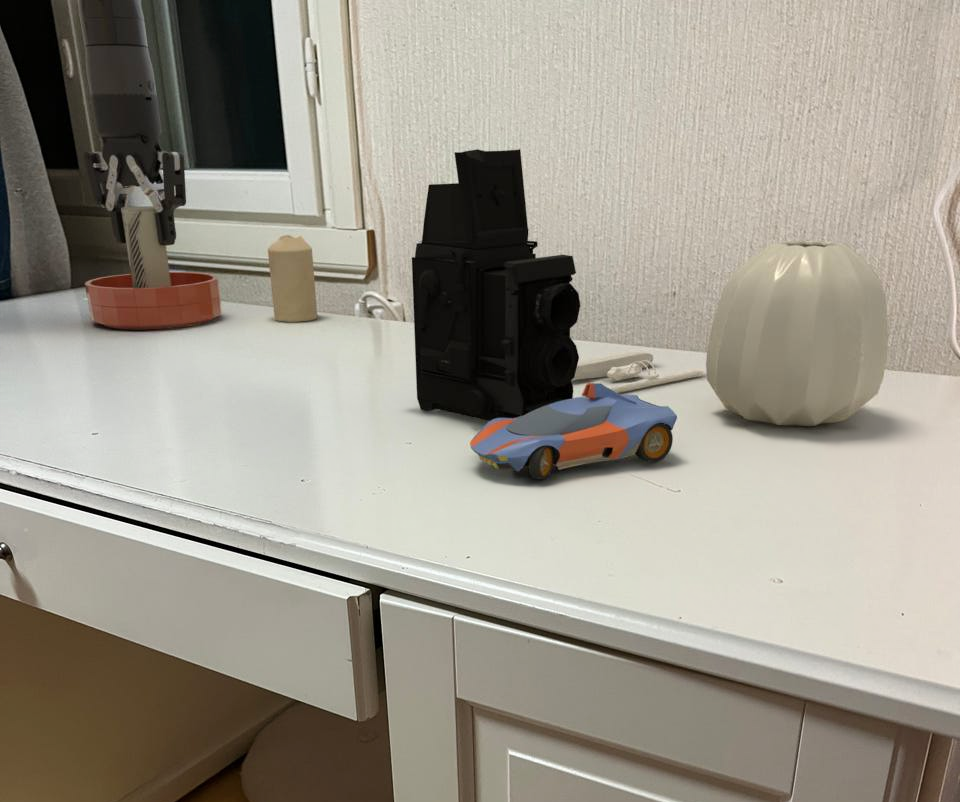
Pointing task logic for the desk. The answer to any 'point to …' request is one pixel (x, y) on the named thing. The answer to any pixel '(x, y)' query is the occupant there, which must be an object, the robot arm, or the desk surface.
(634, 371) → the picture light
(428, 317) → the camera
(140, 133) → the robot arm
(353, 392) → the desk surface
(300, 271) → the candle
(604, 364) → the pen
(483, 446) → the toy car
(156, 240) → the box
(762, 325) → the vase
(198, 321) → the bowl
